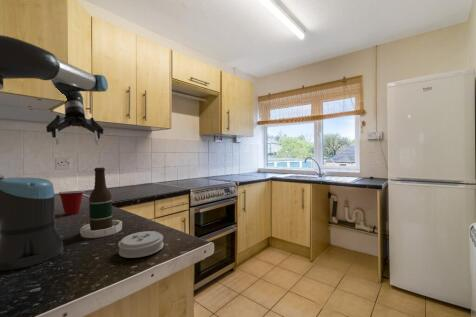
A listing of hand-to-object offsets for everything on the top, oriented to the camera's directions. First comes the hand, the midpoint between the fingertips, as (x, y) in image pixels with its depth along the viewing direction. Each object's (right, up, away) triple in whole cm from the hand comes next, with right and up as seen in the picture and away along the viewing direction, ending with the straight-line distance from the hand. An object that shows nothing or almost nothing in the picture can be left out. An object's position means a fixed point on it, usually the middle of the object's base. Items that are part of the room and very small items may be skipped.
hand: (78, 142), depth 93 cm
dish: (+15, -35, -7) cm, 39 cm away
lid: (+38, -36, -25) cm, 58 cm away
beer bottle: (+14, -35, -7) cm, 38 cm away
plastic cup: (-19, -36, +22) cm, 46 cm away
